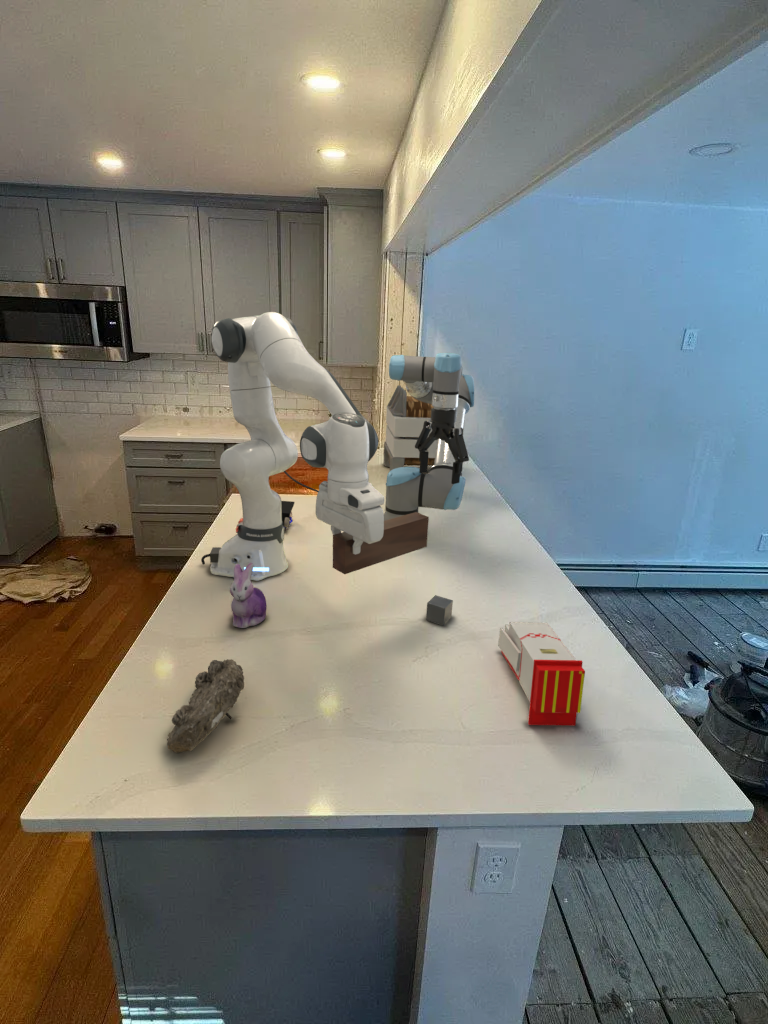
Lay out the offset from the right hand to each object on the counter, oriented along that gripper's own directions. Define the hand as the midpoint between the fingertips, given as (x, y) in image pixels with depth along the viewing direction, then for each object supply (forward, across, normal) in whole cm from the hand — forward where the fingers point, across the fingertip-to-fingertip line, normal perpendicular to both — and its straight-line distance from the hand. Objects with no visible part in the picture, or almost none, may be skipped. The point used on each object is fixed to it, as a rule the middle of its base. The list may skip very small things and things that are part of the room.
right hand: (438, 477), depth 173 cm
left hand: (+3, +21, -51) cm, 56 cm away
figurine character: (+27, -50, -25) cm, 62 cm away
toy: (+27, +59, -29) cm, 71 cm away
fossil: (+27, +28, -88) cm, 96 cm away
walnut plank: (+8, +21, -40) cm, 46 cm away
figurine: (+27, 0, -65) cm, 70 cm away
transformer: (+27, -74, +66) cm, 102 cm away
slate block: (+27, +28, -26) cm, 47 cm away
